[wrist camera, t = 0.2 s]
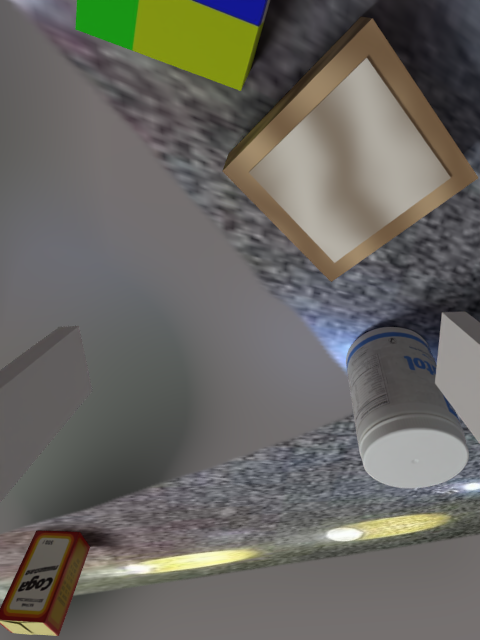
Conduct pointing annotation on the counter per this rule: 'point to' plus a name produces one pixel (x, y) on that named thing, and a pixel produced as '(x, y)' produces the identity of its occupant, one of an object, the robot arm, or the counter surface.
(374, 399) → the supplement tub
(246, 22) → the puzzle toy
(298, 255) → the counter surface
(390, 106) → the oak picture frame
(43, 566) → the baking soda box
